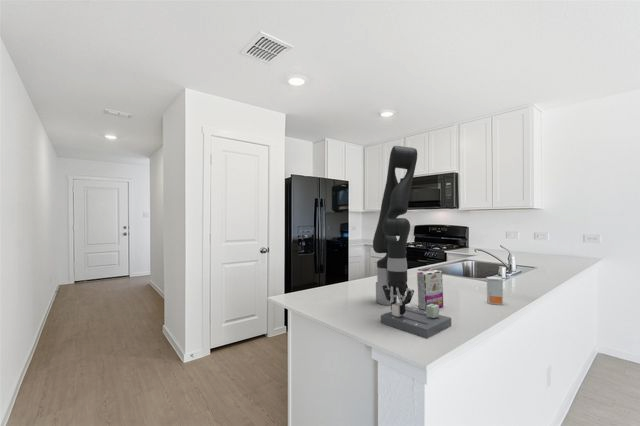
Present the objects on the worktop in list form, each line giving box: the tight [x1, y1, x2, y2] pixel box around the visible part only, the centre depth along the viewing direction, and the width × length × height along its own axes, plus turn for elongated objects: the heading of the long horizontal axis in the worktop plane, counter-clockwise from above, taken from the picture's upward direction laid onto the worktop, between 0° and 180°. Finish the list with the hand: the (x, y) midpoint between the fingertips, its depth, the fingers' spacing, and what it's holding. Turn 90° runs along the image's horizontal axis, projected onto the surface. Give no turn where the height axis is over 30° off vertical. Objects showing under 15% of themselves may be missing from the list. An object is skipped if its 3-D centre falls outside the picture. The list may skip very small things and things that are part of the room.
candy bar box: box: [416, 269, 444, 311], centre depth 136 cm, size 11×5×16 cm, turn 118°
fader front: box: [391, 302, 405, 317], centre depth 118 cm, size 3×4×4 cm
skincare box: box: [486, 276, 504, 306], centre depth 141 cm, size 6×4×12 cm
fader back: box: [426, 304, 440, 318], centre depth 115 cm, size 3×4×4 cm
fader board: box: [380, 305, 452, 339], centre depth 116 cm, size 20×17×3 cm
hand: (398, 312), depth 118 cm, fingers closed on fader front, 3 cm apart
